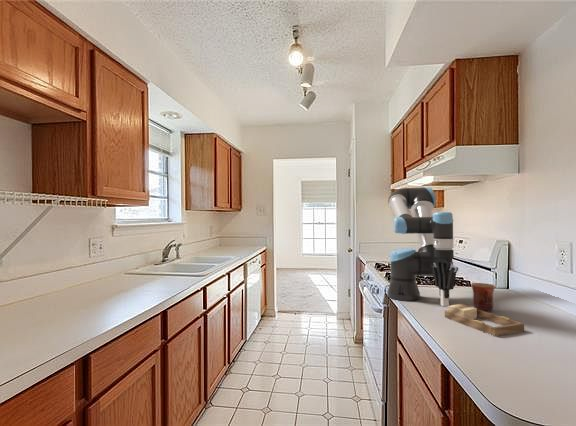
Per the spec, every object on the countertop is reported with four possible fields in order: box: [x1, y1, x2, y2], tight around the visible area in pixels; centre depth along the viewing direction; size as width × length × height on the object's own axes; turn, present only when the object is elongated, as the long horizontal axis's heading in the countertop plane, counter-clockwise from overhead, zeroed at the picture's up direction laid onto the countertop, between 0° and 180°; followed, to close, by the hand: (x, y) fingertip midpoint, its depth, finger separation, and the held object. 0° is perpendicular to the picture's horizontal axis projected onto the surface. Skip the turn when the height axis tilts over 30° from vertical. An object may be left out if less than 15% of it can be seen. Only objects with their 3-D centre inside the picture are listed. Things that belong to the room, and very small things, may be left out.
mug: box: [470, 282, 496, 312], centre depth 132 cm, size 12×9×10 cm
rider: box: [447, 303, 478, 320], centre depth 124 cm, size 7×7×4 cm
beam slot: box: [444, 309, 525, 337], centre depth 116 cm, size 21×14×3 cm, turn 18°
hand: (444, 305), depth 133 cm, fingers closed
